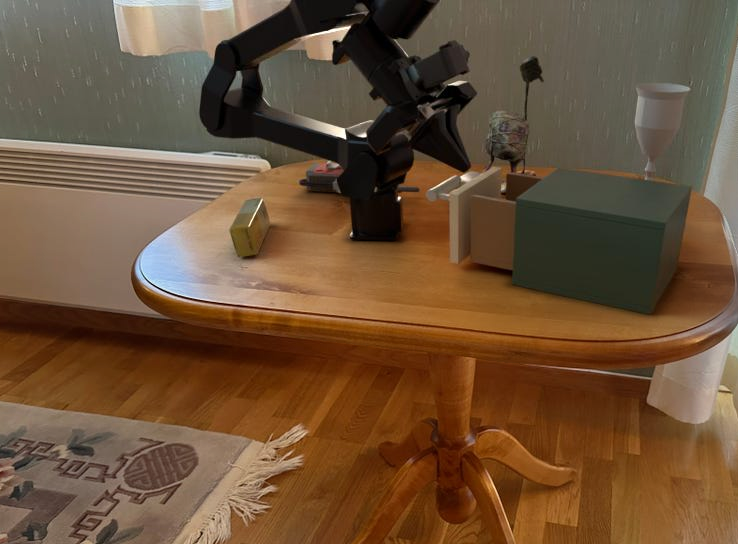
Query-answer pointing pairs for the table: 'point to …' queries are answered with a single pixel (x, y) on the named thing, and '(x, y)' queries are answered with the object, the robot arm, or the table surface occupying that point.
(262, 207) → the medication box
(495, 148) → the bird figurine
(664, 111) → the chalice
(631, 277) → the cabinet
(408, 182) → the table surface
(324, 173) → the walkie-talkie
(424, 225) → the table surface
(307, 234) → the table surface
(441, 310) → the table surface
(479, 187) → the drawer
